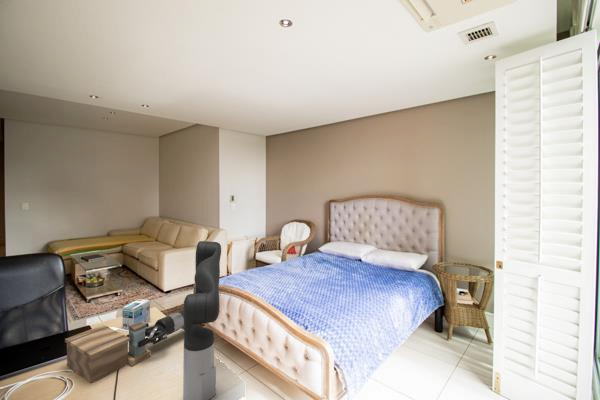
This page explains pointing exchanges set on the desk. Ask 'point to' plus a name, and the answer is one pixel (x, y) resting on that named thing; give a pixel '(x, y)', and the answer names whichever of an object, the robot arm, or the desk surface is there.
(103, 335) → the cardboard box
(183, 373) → the robot arm
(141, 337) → the grey block with cap
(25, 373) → the desk surface
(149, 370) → the desk surface
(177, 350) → the desk surface
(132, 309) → the light bulb box
